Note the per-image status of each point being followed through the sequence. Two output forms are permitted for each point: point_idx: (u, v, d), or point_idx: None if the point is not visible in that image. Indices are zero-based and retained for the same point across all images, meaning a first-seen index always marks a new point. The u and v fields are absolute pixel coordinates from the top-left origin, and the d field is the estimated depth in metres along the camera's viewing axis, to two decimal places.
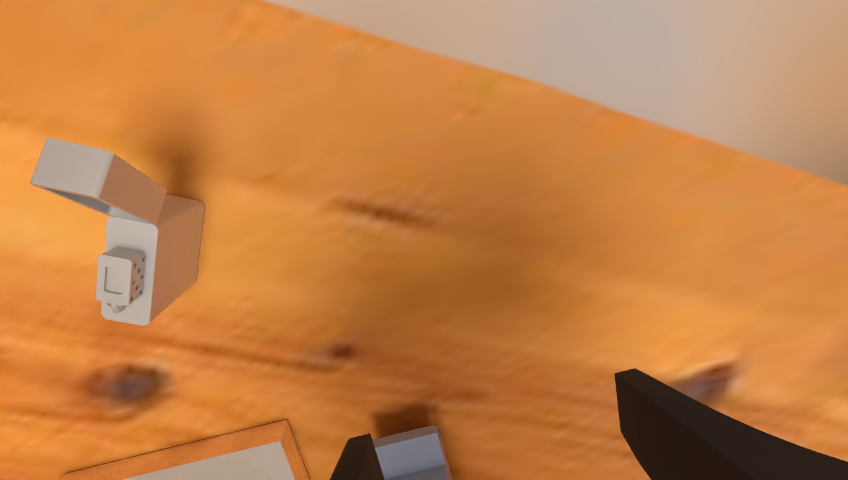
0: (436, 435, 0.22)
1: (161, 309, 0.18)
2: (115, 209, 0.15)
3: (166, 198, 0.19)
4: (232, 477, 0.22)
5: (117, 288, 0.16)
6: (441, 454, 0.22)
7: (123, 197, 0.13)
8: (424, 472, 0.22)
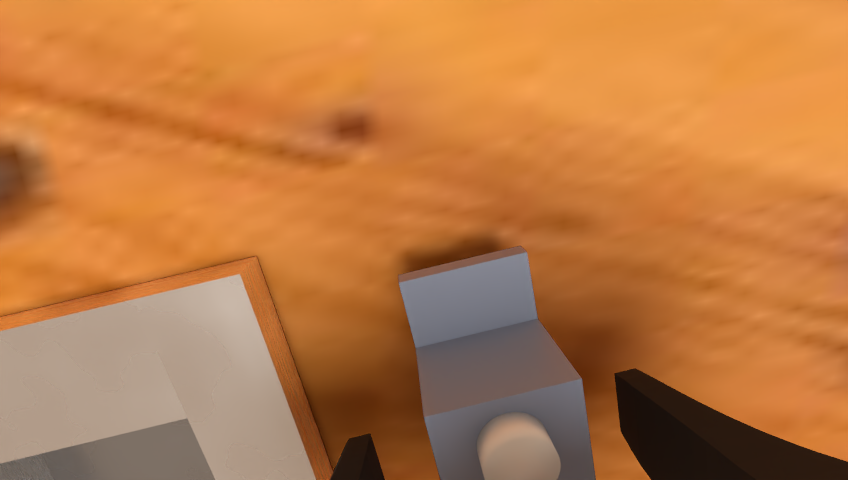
0: (525, 258, 0.12)
1: None
2: None
3: None
4: (156, 344, 0.12)
5: None
6: (532, 297, 0.12)
7: None
8: (501, 330, 0.12)
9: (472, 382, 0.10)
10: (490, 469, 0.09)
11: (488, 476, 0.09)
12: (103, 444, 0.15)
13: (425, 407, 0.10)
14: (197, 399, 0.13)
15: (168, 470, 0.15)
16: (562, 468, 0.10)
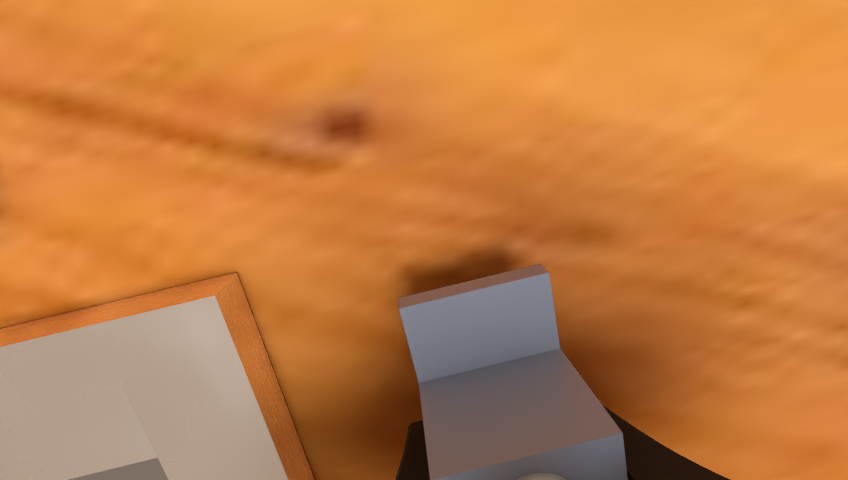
0: (547, 279, 0.10)
1: None
2: None
3: None
4: (119, 375, 0.11)
5: None
6: (554, 324, 0.10)
7: None
8: (518, 362, 0.10)
9: (488, 432, 0.08)
10: None
11: None
12: None
13: (432, 466, 0.08)
14: (168, 436, 0.11)
15: None
16: None
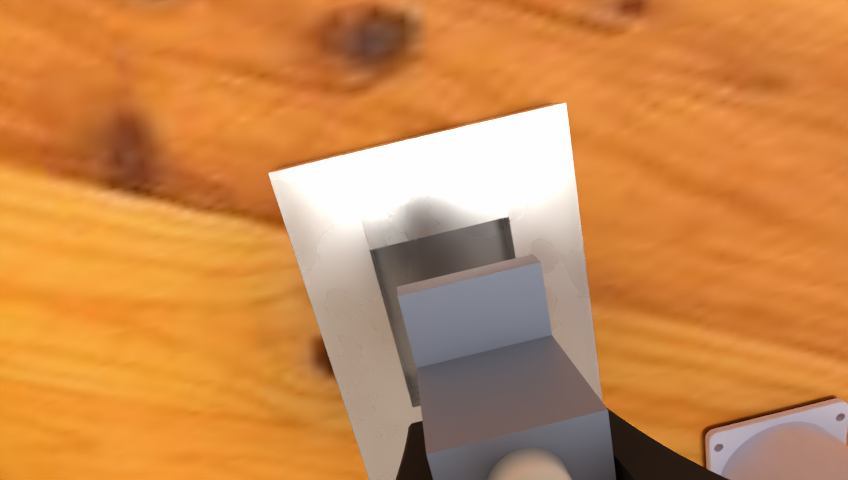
0: (539, 268, 0.10)
1: None
2: None
3: None
4: (500, 155, 0.18)
5: None
6: (546, 312, 0.11)
7: None
8: (512, 348, 0.11)
9: (481, 411, 0.09)
10: None
11: None
12: (420, 252, 0.20)
13: (428, 442, 0.08)
14: (518, 201, 0.18)
15: None
16: None
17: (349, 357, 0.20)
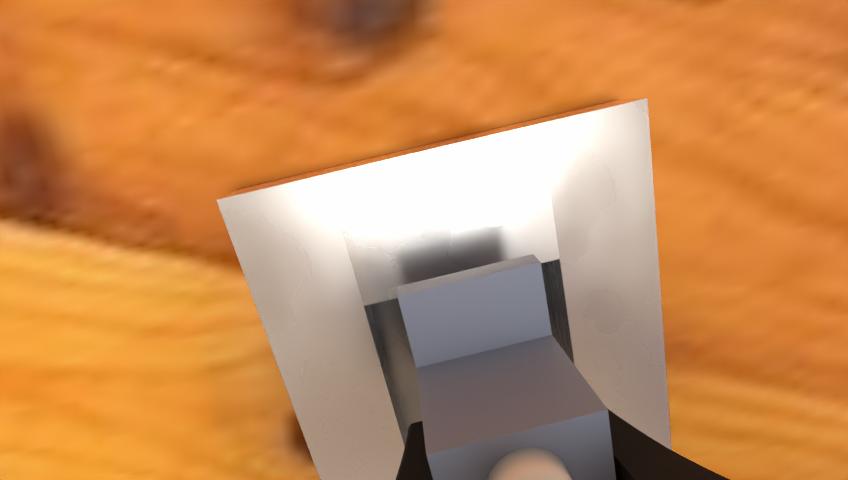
0: (539, 268, 0.10)
1: None
2: None
3: None
4: (550, 174, 0.12)
5: None
6: (546, 312, 0.11)
7: None
8: (511, 348, 0.11)
9: (481, 411, 0.09)
10: None
11: None
12: None
13: (428, 442, 0.08)
14: (574, 238, 0.13)
15: None
16: None
17: (336, 447, 0.14)
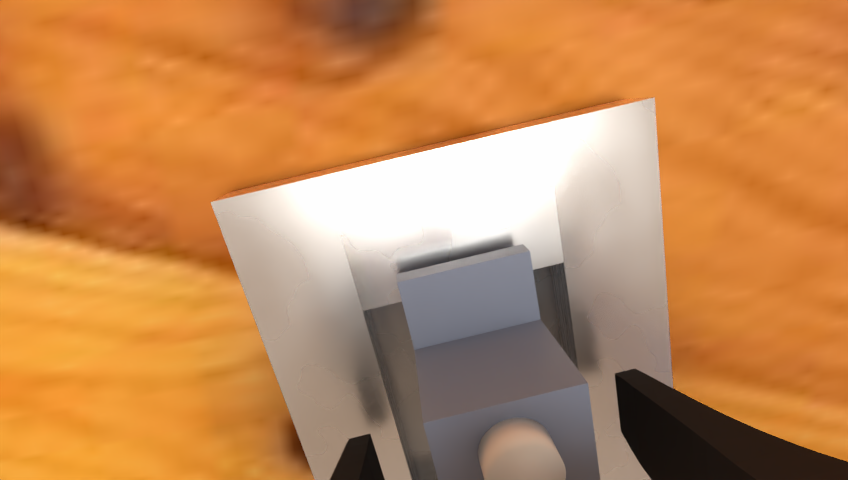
0: (528, 257, 0.11)
1: None
2: None
3: None
4: (554, 175, 0.12)
5: None
6: (535, 297, 0.12)
7: None
8: (503, 331, 0.12)
9: (474, 385, 0.10)
10: (492, 478, 0.09)
11: None
12: None
13: (424, 412, 0.09)
14: (578, 241, 0.13)
15: None
16: (567, 475, 0.10)
17: (335, 456, 0.14)
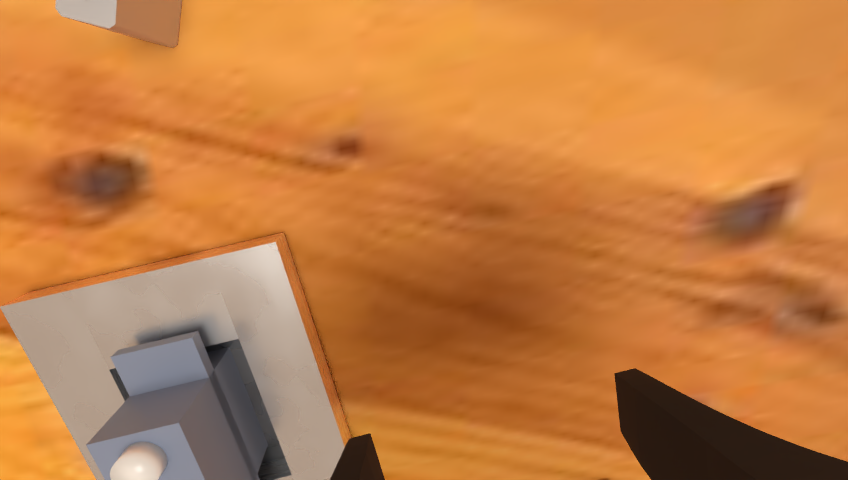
0: (192, 341, 0.19)
1: (131, 25, 0.15)
2: None
3: None
4: (220, 287, 0.19)
5: None
6: (202, 364, 0.19)
7: None
8: (182, 385, 0.19)
9: (130, 422, 0.17)
10: (113, 475, 0.16)
11: (113, 479, 0.16)
12: None
13: (92, 438, 0.17)
14: (245, 325, 0.20)
15: None
16: (182, 474, 0.17)
17: None
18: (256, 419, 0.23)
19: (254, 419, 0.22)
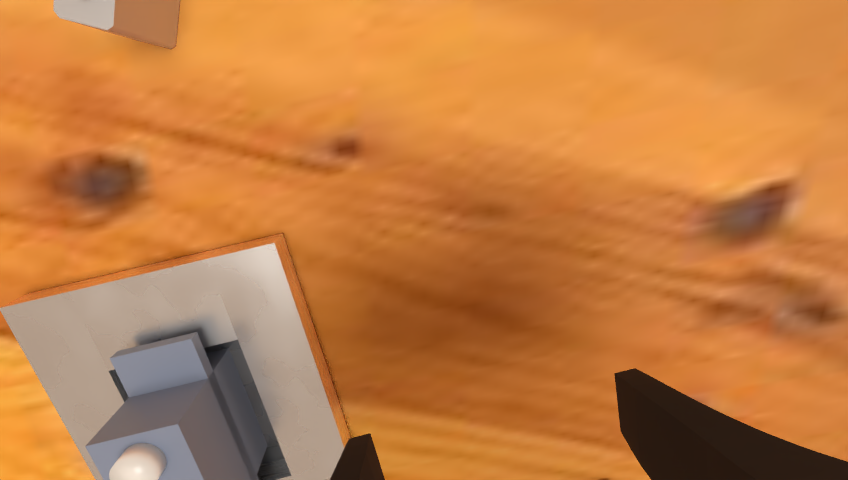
0: (191, 342, 0.19)
1: (129, 27, 0.15)
2: None
3: None
4: (219, 288, 0.19)
5: None
6: (201, 366, 0.19)
7: None
8: (181, 386, 0.19)
9: (129, 424, 0.17)
10: (112, 476, 0.16)
11: None
12: None
13: (92, 440, 0.17)
14: (244, 326, 0.20)
15: None
16: (181, 475, 0.17)
17: None
18: (255, 419, 0.23)
19: (254, 420, 0.22)
